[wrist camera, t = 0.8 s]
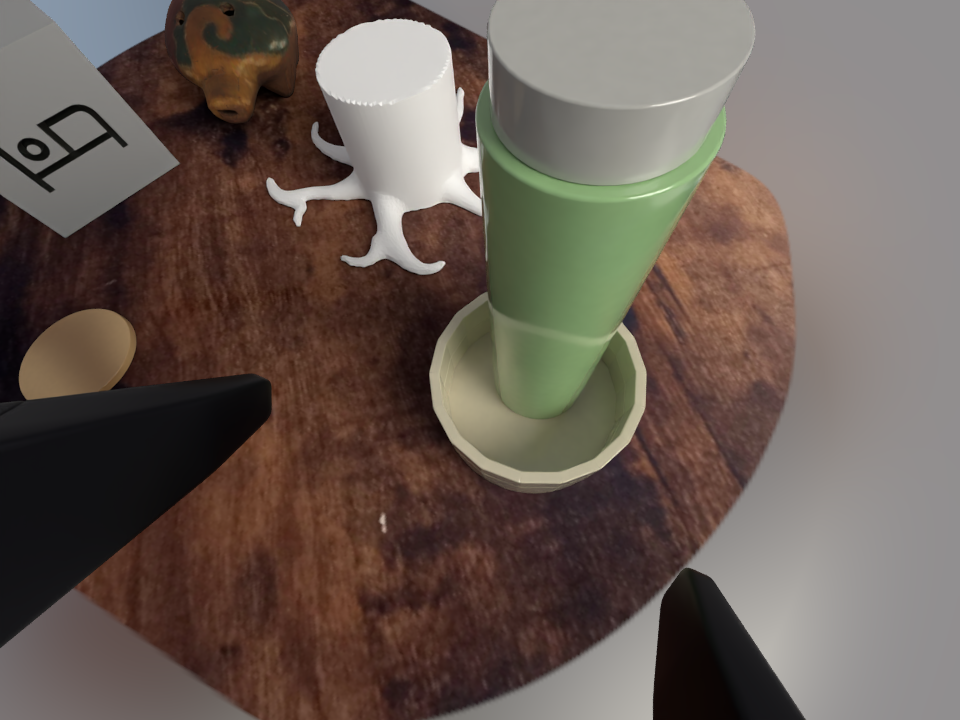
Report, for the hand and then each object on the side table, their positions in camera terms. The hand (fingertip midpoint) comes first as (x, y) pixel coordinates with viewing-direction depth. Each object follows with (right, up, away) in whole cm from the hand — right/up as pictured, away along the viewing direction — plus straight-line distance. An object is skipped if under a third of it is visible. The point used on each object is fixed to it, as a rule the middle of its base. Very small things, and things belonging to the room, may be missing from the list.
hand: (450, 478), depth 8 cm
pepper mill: (+4, +1, +14) cm, 15 cm away
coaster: (-25, +2, +18) cm, 31 cm away
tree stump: (-5, +17, +23) cm, 29 cm away
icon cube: (-31, +18, +25) cm, 44 cm away
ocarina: (-19, +27, +28) cm, 43 cm away
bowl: (+4, 0, +15) cm, 16 cm away
